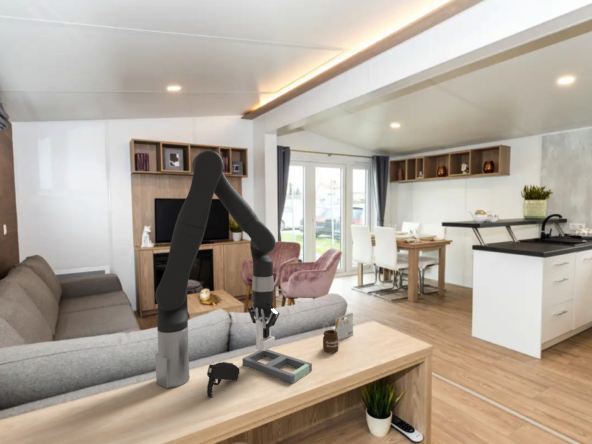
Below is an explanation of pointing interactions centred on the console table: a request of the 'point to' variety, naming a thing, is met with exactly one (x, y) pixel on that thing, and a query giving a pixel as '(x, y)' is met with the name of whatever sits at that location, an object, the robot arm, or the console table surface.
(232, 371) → the gun
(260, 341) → the white wedge bracket
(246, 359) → the port panel
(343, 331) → the ink cartridge box
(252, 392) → the console table surface
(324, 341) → the utensil holder
